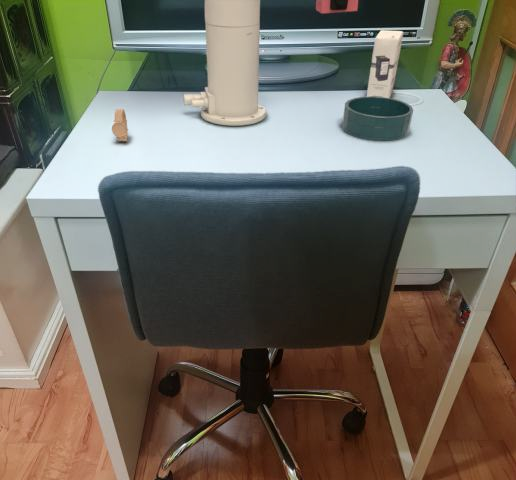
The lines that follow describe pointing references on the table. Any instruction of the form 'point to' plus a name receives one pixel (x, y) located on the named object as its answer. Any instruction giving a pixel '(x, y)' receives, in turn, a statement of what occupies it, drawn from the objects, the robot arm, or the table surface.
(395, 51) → the ink box
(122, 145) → the table surface
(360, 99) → the bowl
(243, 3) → the robot arm
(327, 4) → the eraser
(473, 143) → the table surface
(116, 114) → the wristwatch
